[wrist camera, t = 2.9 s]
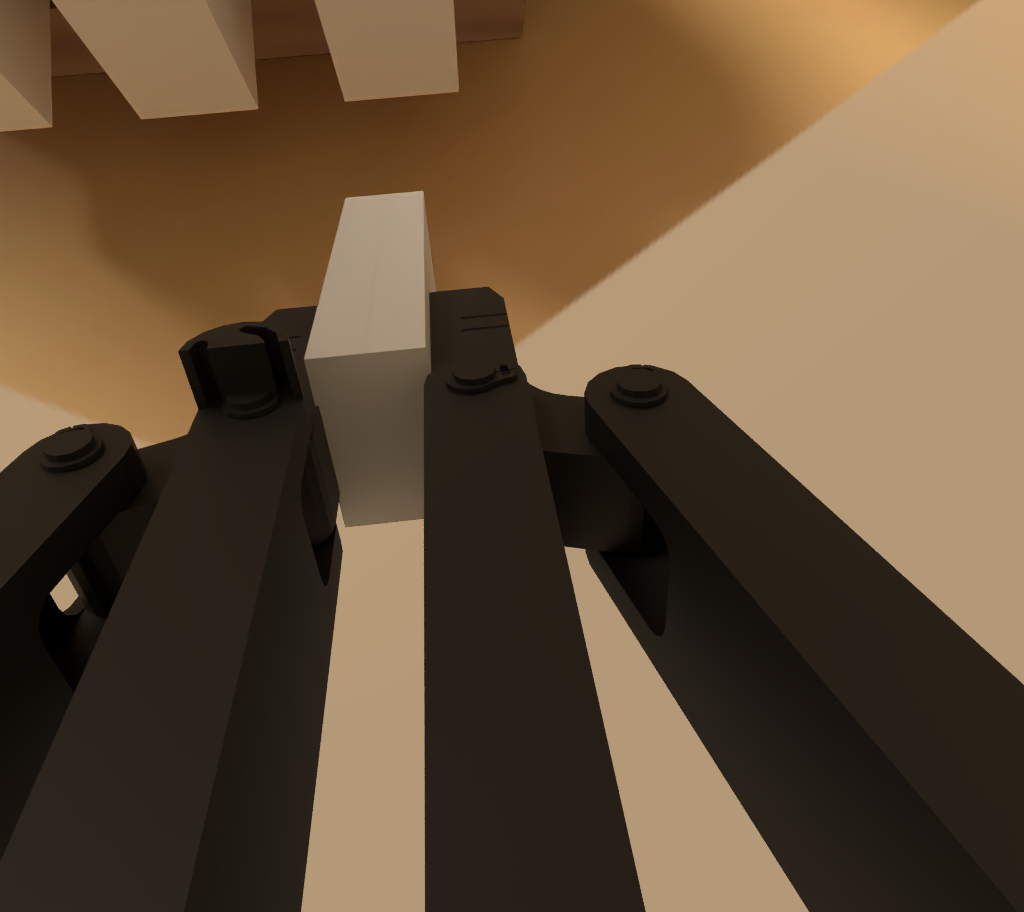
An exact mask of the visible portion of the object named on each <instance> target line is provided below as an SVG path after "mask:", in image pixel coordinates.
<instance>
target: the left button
mask: <svg viewBox="0 0 1024 912" xmlns="http://www.w3.org/2000/svg"><path fill="white" fill-rule="evenodd" d="M49 127H53V122H52V79H51V35H50V0H0V132H3V131H15V130H26V129H38V128H49Z"/></svg>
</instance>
